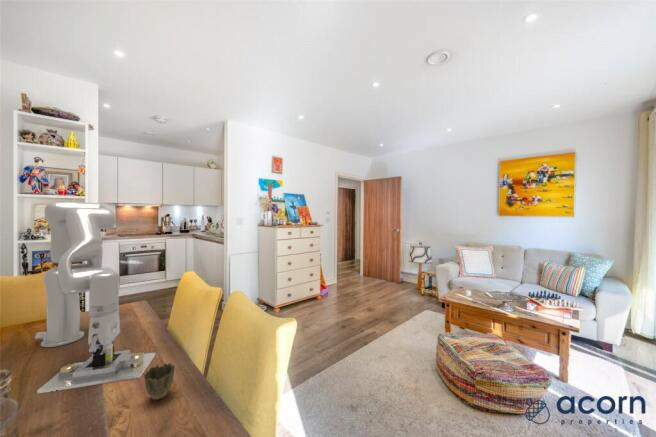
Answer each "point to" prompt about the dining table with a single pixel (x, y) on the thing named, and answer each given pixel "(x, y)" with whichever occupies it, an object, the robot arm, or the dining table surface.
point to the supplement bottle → (108, 353)
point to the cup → (159, 380)
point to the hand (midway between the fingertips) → (103, 360)
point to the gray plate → (99, 371)
